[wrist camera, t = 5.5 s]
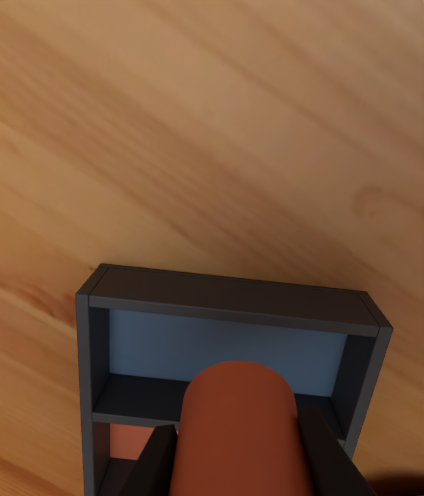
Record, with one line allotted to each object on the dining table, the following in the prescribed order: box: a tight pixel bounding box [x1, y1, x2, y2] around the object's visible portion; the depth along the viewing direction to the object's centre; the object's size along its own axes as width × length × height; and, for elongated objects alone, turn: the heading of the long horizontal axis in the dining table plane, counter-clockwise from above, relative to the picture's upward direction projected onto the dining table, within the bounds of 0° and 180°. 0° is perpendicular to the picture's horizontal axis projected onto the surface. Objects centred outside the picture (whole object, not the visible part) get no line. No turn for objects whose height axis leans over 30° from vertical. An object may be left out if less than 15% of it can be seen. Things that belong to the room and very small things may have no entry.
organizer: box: [75, 264, 393, 496], centre depth 20 cm, size 14×14×3 cm
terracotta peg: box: [168, 361, 317, 496], centre depth 10 cm, size 4×4×6 cm
